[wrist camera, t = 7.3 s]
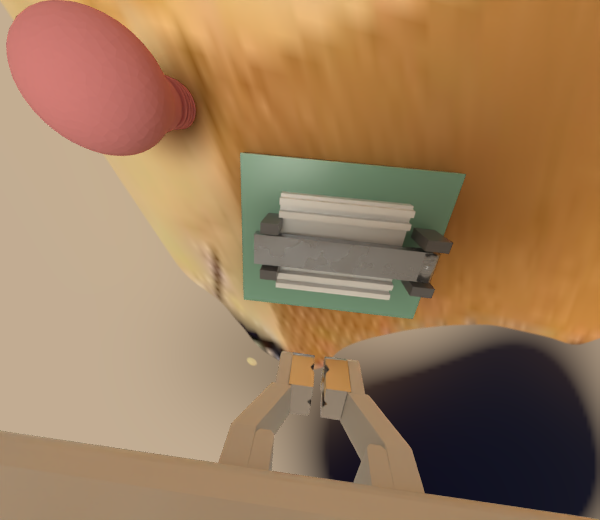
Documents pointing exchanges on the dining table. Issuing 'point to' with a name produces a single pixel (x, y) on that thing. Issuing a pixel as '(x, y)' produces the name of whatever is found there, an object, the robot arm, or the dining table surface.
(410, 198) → the heat sink board
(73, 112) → the light bulb
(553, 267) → the dining table surface
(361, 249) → the steel strap
